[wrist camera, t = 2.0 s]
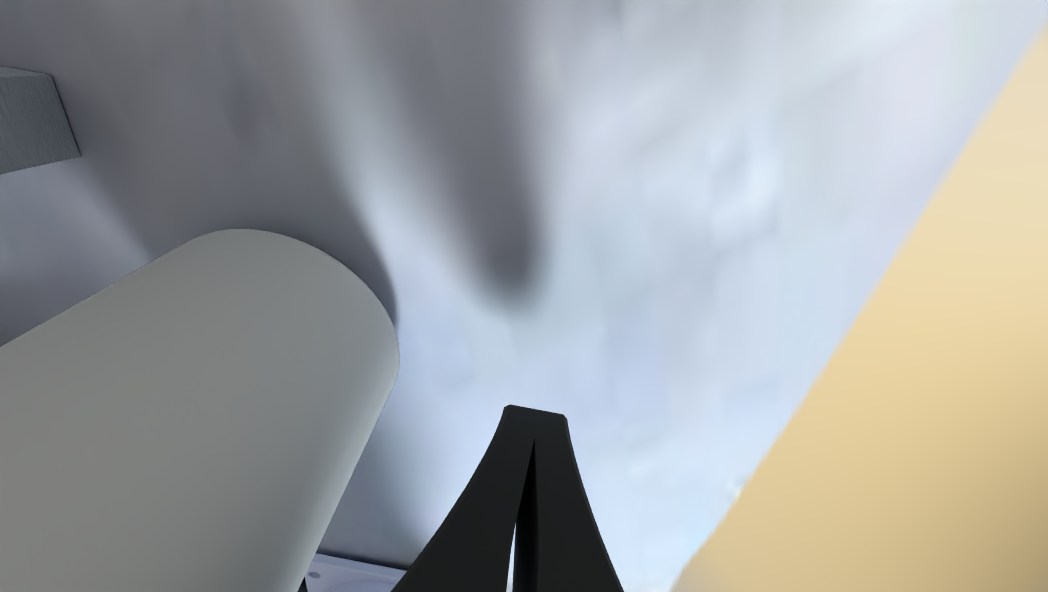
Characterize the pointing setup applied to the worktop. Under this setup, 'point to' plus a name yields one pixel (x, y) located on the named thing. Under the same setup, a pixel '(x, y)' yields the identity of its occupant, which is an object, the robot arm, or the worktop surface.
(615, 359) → the worktop surface
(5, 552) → the beverage can
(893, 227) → the worktop surface
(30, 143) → the grey piece
